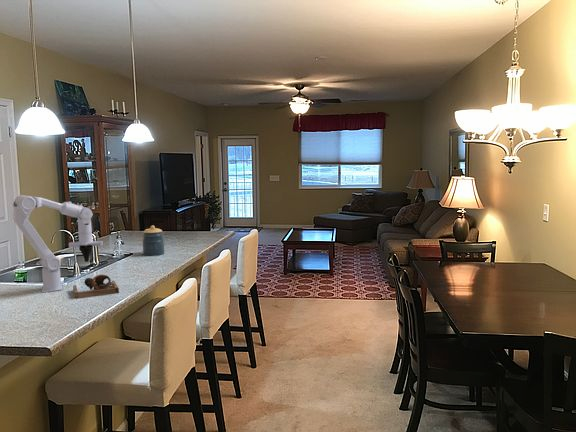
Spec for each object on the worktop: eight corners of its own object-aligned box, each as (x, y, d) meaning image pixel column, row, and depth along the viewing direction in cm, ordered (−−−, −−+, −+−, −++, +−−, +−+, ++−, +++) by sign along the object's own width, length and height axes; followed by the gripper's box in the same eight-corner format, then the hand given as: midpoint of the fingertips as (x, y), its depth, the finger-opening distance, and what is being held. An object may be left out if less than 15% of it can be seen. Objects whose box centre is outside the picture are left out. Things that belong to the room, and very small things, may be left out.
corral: (73, 290, 217) (73, 285, 216) (114, 285, 224) (114, 280, 224) (75, 298, 204) (75, 293, 204) (118, 292, 212) (118, 287, 212)
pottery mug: (114, 288, 221) (115, 275, 217) (107, 302, 214) (108, 289, 209) (87, 282, 220) (87, 269, 216) (79, 297, 212) (79, 283, 208)
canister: (159, 256, 290) (158, 227, 288) (139, 255, 292) (137, 226, 290) (168, 252, 303) (166, 224, 301) (148, 251, 305) (147, 223, 303)
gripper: (66, 234, 221) (68, 264, 223) (100, 233, 224) (101, 262, 226) (70, 232, 228) (71, 260, 230) (102, 231, 231) (104, 259, 232)
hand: (86, 261), depth 228 cm, fingers closed
